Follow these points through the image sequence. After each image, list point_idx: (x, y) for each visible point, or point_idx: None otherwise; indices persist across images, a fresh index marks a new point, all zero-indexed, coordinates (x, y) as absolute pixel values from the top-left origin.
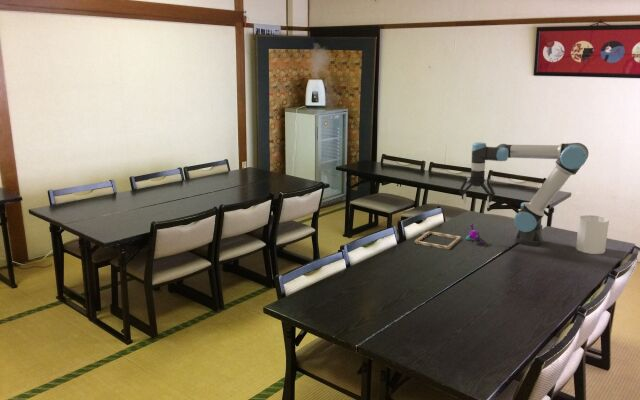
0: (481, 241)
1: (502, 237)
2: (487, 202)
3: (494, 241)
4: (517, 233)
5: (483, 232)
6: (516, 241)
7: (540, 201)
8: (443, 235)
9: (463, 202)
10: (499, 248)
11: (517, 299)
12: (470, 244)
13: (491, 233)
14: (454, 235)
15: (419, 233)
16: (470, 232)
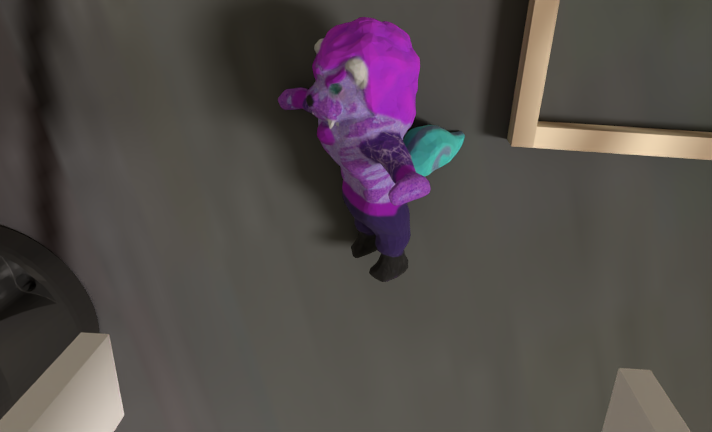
0: (294, 95)
1: (195, 331)
2: (21, 425)
3: (215, 204)
4: (26, 318)
5: (361, 393)
6: (60, 263)
7: None
8: (702, 134)
9: (676, 421)
10: (108, 17)
11: None
12: (384, 3)
13: (299, 392)
14: (585, 149)
15: None
16: (396, 50)
